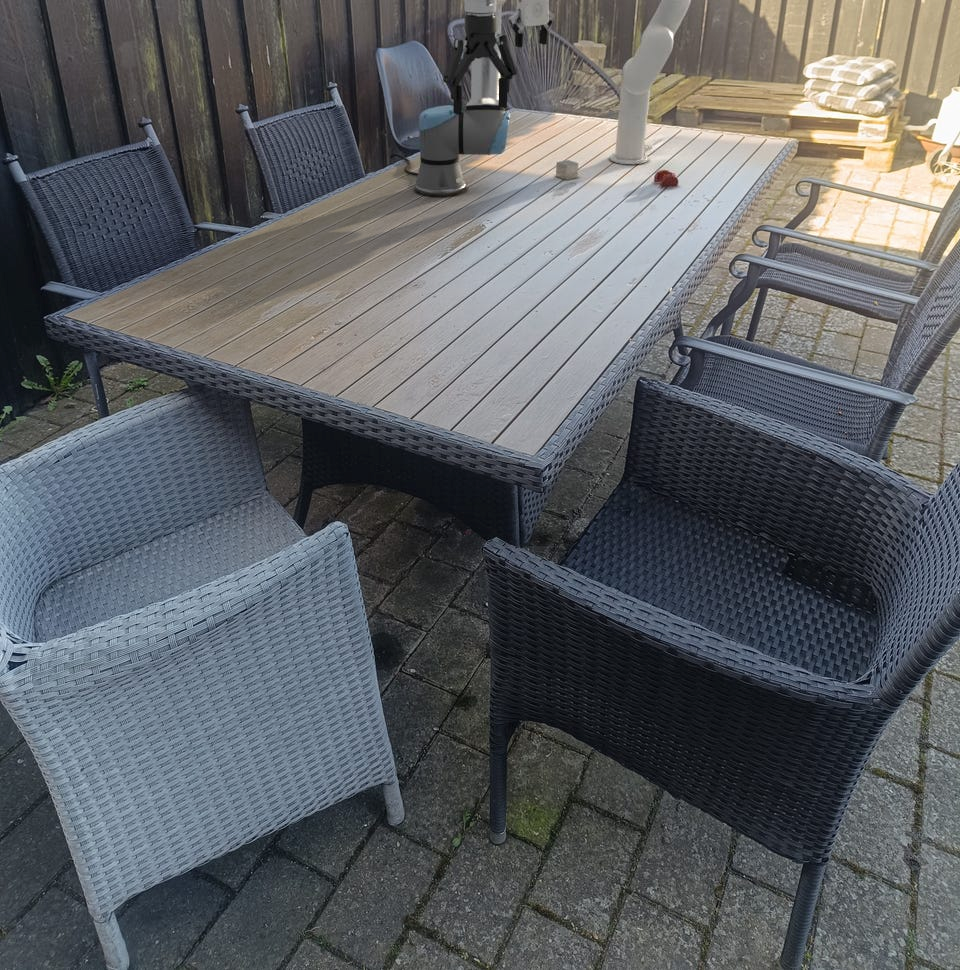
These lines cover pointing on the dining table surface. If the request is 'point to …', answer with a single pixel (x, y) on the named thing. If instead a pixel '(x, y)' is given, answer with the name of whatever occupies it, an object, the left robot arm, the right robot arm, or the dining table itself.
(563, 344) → the dining table surface
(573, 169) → the grey square block
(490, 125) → the left robot arm
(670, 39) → the right robot arm
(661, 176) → the red lumpy rounded piece
